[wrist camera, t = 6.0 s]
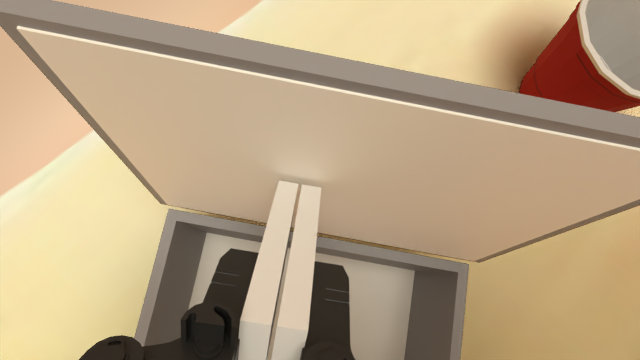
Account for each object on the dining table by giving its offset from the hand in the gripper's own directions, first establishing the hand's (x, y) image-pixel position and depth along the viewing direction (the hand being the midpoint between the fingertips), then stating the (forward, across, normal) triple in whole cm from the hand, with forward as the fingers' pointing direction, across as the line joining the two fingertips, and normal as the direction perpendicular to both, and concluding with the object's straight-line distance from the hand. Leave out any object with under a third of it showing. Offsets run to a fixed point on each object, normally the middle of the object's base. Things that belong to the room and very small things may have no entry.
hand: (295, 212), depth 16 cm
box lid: (+1, +2, +1) cm, 2 cm away
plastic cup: (+24, +21, 0) cm, 32 cm away
